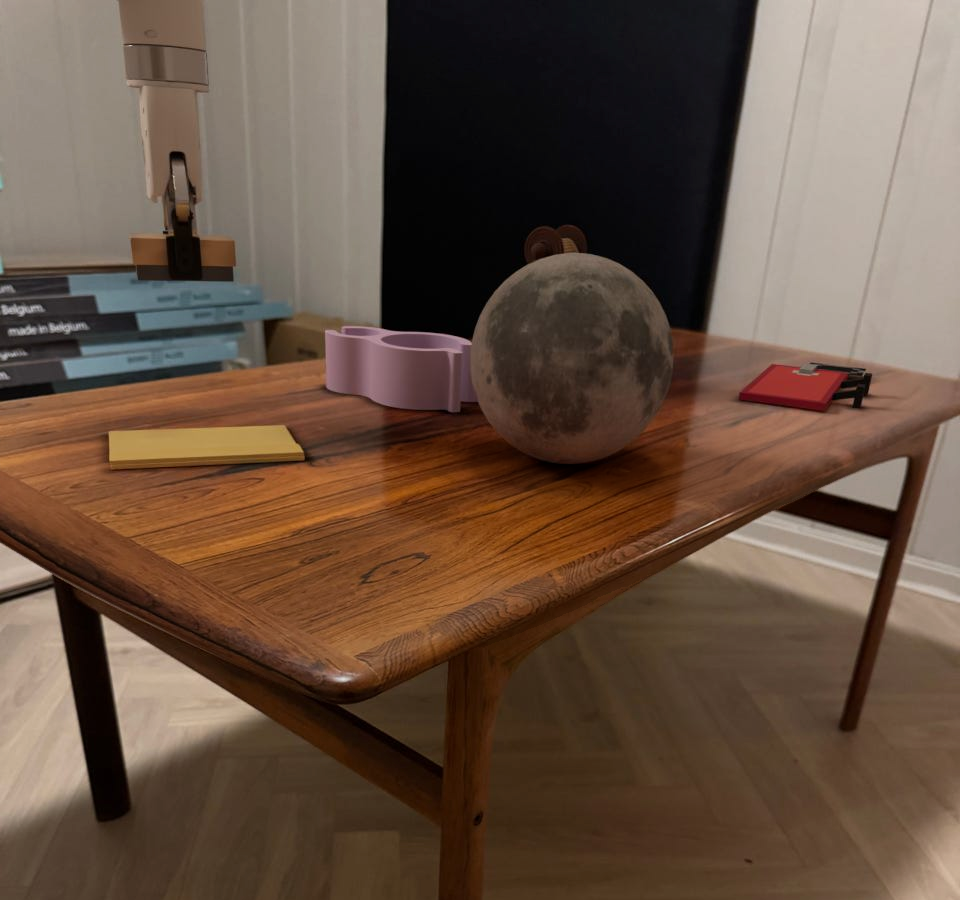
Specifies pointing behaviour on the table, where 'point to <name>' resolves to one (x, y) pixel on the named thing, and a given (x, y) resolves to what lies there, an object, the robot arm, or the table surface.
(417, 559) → the table surface
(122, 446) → the flat yellow board
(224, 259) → the brush
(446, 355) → the pink curved hollow block
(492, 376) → the moon model
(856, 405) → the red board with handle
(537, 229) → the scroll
